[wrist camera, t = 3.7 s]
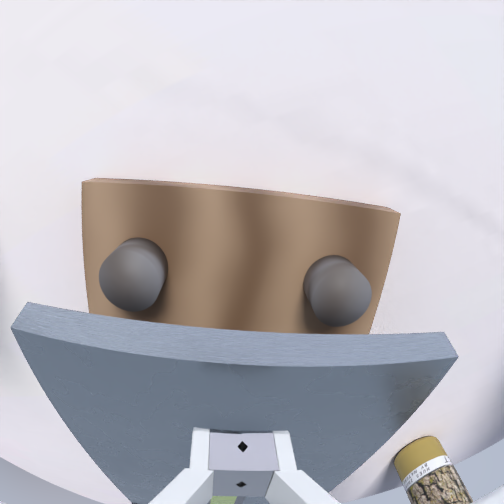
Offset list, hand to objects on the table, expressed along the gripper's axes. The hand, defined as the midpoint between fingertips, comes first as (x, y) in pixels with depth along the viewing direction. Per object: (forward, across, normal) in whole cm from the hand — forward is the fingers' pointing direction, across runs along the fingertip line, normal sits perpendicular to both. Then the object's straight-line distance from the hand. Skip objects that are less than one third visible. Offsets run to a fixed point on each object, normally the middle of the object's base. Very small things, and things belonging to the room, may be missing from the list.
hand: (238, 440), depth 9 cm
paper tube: (+14, -26, +24) cm, 38 cm away
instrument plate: (+6, 0, +10) cm, 12 cm away
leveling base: (+13, 0, +10) cm, 17 cm away
